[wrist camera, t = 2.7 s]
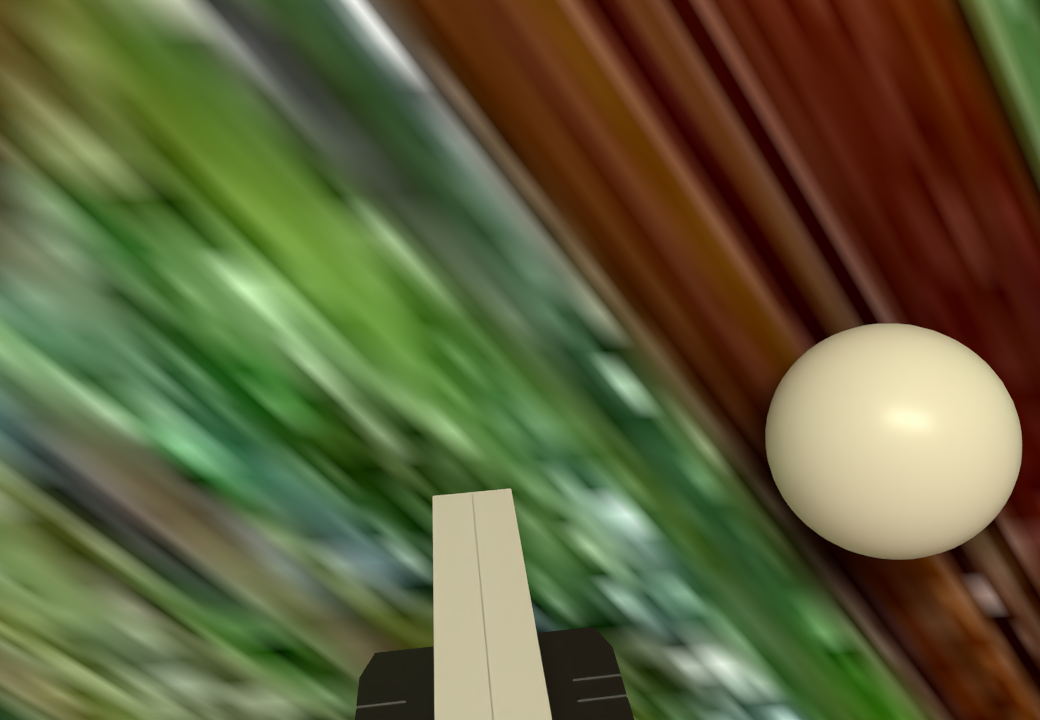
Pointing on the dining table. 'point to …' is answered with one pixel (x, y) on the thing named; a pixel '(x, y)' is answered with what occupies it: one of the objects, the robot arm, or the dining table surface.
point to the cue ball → (893, 441)
